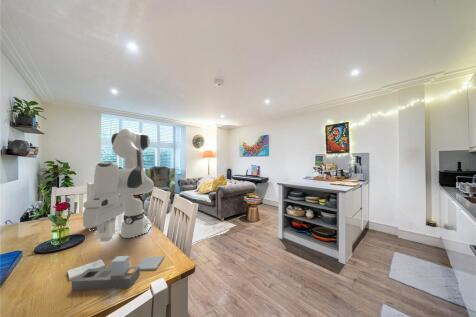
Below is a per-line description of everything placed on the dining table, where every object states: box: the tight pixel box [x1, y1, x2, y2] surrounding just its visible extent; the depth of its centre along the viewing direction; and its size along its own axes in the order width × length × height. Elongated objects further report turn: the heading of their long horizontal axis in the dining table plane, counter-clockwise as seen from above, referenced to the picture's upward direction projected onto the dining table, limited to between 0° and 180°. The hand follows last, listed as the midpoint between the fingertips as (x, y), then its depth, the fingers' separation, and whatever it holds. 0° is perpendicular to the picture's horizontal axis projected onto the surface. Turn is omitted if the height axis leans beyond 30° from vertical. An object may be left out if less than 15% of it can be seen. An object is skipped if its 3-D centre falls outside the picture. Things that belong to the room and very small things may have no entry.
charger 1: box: [96, 220, 116, 243], centre depth 75 cm, size 4×5×8 cm
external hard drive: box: [67, 259, 106, 281], centre depth 80 cm, size 2×8×12 cm
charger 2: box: [110, 255, 130, 276], centre depth 72 cm, size 4×5×6 cm
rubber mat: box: [135, 256, 165, 272], centre depth 85 cm, size 10×10×1 cm
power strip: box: [71, 266, 141, 292], centre depth 72 cm, size 8×22×4 cm, turn 94°
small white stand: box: [86, 181, 97, 230], centre depth 134 cm, size 11×11×35 cm
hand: (106, 230), depth 75 cm, fingers closed on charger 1, 4 cm apart
